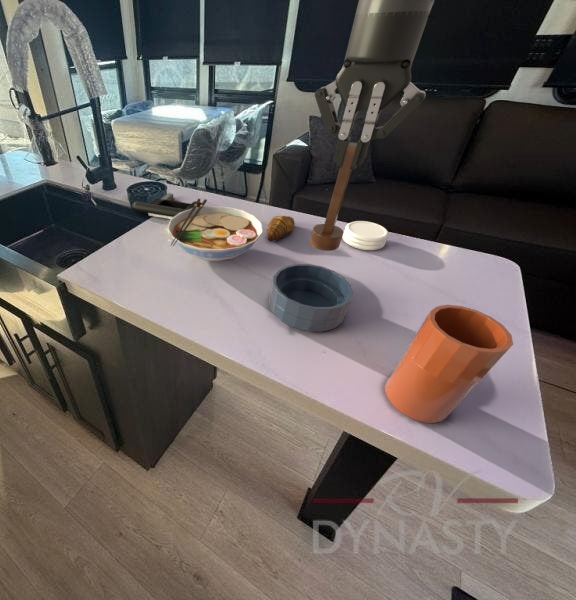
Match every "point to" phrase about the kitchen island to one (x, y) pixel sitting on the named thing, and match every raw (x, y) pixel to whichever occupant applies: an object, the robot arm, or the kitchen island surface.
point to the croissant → (279, 227)
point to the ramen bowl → (214, 231)
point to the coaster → (365, 235)
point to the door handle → (163, 207)
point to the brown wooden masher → (334, 208)
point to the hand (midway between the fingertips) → (346, 166)
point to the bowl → (310, 297)
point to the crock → (446, 362)
